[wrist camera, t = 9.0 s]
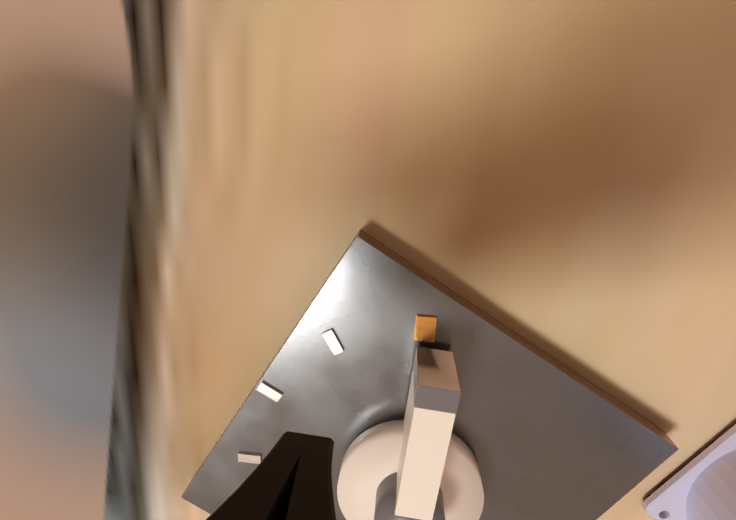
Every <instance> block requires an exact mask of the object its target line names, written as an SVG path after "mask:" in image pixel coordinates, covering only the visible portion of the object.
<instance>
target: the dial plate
mask: <svg viewBox="0 0 736 520" xmlns="http://www.w3.org/2000/svg"><path fill="white" fill-rule="evenodd" d="M417 346H418V347H424V348H431V349H437V350H444V351H450V352H453V354H454V359H455V364H456V369H457V374H458V379H459V383H460V388H461V396H460V400H459V405H458V409H457V414H456V415H455V420H454V424H453V429H452V433H453V434H455V435H456V436H457V437H459V438H460V439H461V440H462V441H463V442H464V443H465V444H466V445H467V446H468V447H469V449H470V450H471V452H472V453H473V455H474V457H475V459H476V461H477V464H478V467H479V472H480V476H481V481H482V486H483V492H484V505H483V511H482V513H481V516H480V518H479V520H596V519H598V518H599V517H600V516H601V515H602V514H603V513H605V512H606V511H607V510H608V509H609V508H610V507H612V506H613V505H614V504H615V503H616V502H617V501H619V500H620V499H621V498H622V497H623V496H624V495H625V494H627V493H628V492H629V491H630V490H631V489H632V488H634V487H635V486H636V485H637V484H638V483H639V482H641V481H642V480H643V479H644V478H645V477H646V476H648V475H649V474H650V473H651V472H652V471H653V470H655V469H656V468H657V467H658V466H659V465H660V464H662V463H663V462H664V461H665V460H666V459H667V458H669V457H670V456H671V455H672V454H673V453H674V452H676V451H677V450H678V448H677V446H676V445H675V444H674V443H673V442H672V440H671V439H670V438H669V437H668V436H667V435H666V433H665V432H664V431H662V430H661V429H659V428H658V427H656V426H655V425H653V424H652V423H650V422H649V421H647V420H646V419H644V418H643V417H641V416H640V415H638V414H637V413H635V412H634V411H632V410H631V409H629V408H628V407H626V406H625V405H623V404H622V403H620V402H619V401H617V400H616V399H614V398H613V397H611V396H610V395H608V394H607V393H605V392H604V391H602V390H601V389H599V388H598V387H596V386H595V385H593V384H592V383H590V382H589V381H587V380H586V379H584V378H583V377H581V376H580V375H578V374H577V373H575V372H574V371H572V370H571V369H569V368H567V367H566V366H564V365H563V364H561V363H560V362H558V361H557V360H555V359H554V358H552V357H551V356H549V355H548V354H546V353H545V352H543V351H542V350H540V349H539V348H537V347H536V346H534V345H533V344H531V343H530V342H528V341H527V340H525V339H524V338H522V337H521V336H519V335H518V334H516V333H515V332H513V331H512V330H510V329H509V328H507V327H506V326H504V325H503V324H501V323H500V322H498V321H497V320H495V319H494V318H492V317H491V316H489V315H488V314H486V313H485V312H483V311H482V310H480V309H479V308H477V307H476V306H474V305H473V304H471V303H470V302H468V301H467V300H465V299H464V298H462V297H461V296H459V295H458V294H456V293H454V292H453V291H451V290H450V289H448V288H447V287H445V286H444V285H442V284H441V283H439V282H438V281H436V280H435V279H433V278H432V277H430V276H429V275H427V274H426V273H424V272H423V271H421V270H420V269H418V268H417V267H415V266H414V265H412V264H411V263H409V262H408V261H406V260H405V259H403V258H402V257H400V256H399V255H397V254H396V253H394V252H393V251H391V250H390V249H388V248H387V247H385V246H384V245H382V244H381V243H379V242H378V241H376V240H375V239H373V238H372V237H370V236H369V235H367V234H366V233H364V232H363V231H361V230H360V231H359V233H358V234H357V236H356V237H355V239H354V240H353V242H352V243H351V244H350V246H349V247H348V249H347V250H346V252H345V253H344V255H343V256H342V258H341V259H340V261H339V262H338V264H337V265H336V267H335V268H334V270H333V271H332V273H331V274H330V276H329V277H328V279H327V280H326V282H325V283H324V285H323V286H322V287H321V289H320V290H319V292H318V293H317V295H316V296H315V298H314V299H313V301H312V302H311V304H310V305H309V307H308V308H307V310H306V311H305V313H304V314H303V316H302V317H301V319H300V320H299V322H298V323H297V325H296V326H295V328H294V329H293V330H292V332H291V333H290V335H289V336H288V338H287V339H286V341H285V342H284V344H283V345H282V347H281V348H280V350H279V351H278V353H277V354H276V356H275V357H274V359H273V360H272V362H271V363H270V365H269V366H268V368H267V369H266V371H265V372H264V373H263V375H262V376H261V378H260V379H259V381H258V382H257V384H256V385H255V387H254V388H253V390H252V391H251V393H250V394H249V396H248V397H247V399H246V400H245V402H244V403H243V405H242V406H241V408H240V409H239V411H238V412H237V413H236V415H235V416H234V418H233V419H232V421H231V422H230V424H229V425H228V427H227V428H226V430H225V431H224V433H223V434H222V436H221V437H220V439H219V440H218V442H217V443H216V445H215V446H214V448H213V449H212V451H211V452H210V454H209V455H208V456H207V458H206V459H205V461H204V462H203V464H202V465H201V467H200V468H199V470H198V471H197V473H196V474H195V476H194V477H193V479H192V480H191V482H190V483H189V485H188V487H187V488H186V490H185V492H184V493H183V495H182V498H184V499H185V500H187V501H189V502H191V503H192V504H194V505H196V506H198V507H199V508H201V509H203V510H205V511H206V512H208V513H210V514H213V513H214V512H215V511H216V510H217V509H218V508H219V507H220V506H221V505H222V504H223V503H224V502H225V501H226V500H227V499H228V498H229V497H230V496H231V495H232V494H233V493H234V492H235V491H236V490H237V489H238V488H239V487H240V485H241V484H242V483H243V482H244V481H245V480H246V479H247V478H248V477H249V475H250V474H251V473H252V472H253V471H254V470H255V469H256V468H257V467H258V465H259V464H260V463H261V462H262V461H263V459H264V458H265V457H266V456H267V455H268V453H269V452H270V451H271V450H272V448H273V447H274V446H275V444H276V443H277V442H278V441H279V439H280V438H281V436H282V435H283V434H284V433H285V432H287V431H290V432H296V433H303V434H309V435H316V436H322V437H329V438H331V439H332V440H333V441H334V449H333V458H332V468H331V469H332V489H333V498H334V507H335V514H336V520H346V519H345V517H344V515H343V513H342V511H341V509H340V506H339V503H338V497H337V485H338V479H339V474H340V469H341V464H342V460H343V457H344V454H345V452H346V450H347V449H348V447H349V446H350V444H351V443H352V442H353V441H354V440H355V439H356V438H357V437H358V436H359V435H360V434H362V433H363V432H364V431H366V430H368V429H369V428H371V427H373V426H376V425H378V424H381V423H384V422H389V421H394V420H404V417H405V411H406V405H407V400H408V394H409V389H410V383H411V377H412V372H413V363H414V358H415V352H416V347H417Z"/></svg>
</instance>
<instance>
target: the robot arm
mask: <svg viewBox="0 0 736 520" xmlns="http://www.w3.org/2000/svg"><path fill="white" fill-rule="evenodd" d="M333 449H334V441H333V440H332V439H331V438H329V437H322V436H316V435H309V434H303V433H296V432H290V431H287V432H285V433H284V434H283V435H282V436H281V438H280V439H279V441H278V442H277V443H276V444H275V446H274V447H273V448H272V450H271V451H270V452H269V453H268V455H267V456H266V457H265V458H264V459H263V461H262V462H261V463H260V464H259V465H258V467H257V468H256V469H255V470H254V471H253V472H252V473H251V474H250V475H249V477H248V478H247V479H246V480H245V481H244V482H243V483H242V484H241V485H240V487H239V488H238V489H237V490H236V491H235V492H234V493H233V494H232V495H231V496H230V497H229V498H228V499H227V500H226V501H225V502H224V503H223V504H222V505H221V506H220V507H219V508H218V509H217V510H216V511H215V512H214V513H213V514H212V515H211V516H209V517H208V518H207V519H206V520H336V514H335V507H334V498H333V489H332V469H331V468H332V458H333ZM643 508H644V509H645V511H646V513H647V514H648V515H649V516H651V517H653V518H654V519H656V520H736V424H735V425H734V426H733V427H731V428H730V429H729V430H728V431H727V432H725V433H724V434H723V435H722V436H721V437H719V438H718V439H717V440H716V441H715V442H713V443H712V444H711V445H710V446H709V447H707V448H706V449H705V450H704V451H703V452H701V453H700V454H699V455H698V456H697V457H696V458H694V459H693V460H692V461H691V462H690V463H688V464H687V465H686V466H685V467H684V468H682V469H681V470H680V471H679V472H678V473H676V474H675V475H674V476H673V477H672V478H670V479H669V480H668V481H667V482H666V483H664V484H663V485H662V486H661V487H660V488H658V489H657V490H656V491H655V492H654V493H653V494H651V495H650V496H649V497H648V498H647V499H645V501H644V502H643Z"/></svg>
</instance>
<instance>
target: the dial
mask: <svg viewBox="0 0 736 520" xmlns="http://www.w3.org/2000/svg"><path fill="white" fill-rule="evenodd" d="M460 396H461V388H460V383H459V379H458V374H457V369H456V364H455V359H454V354H453V352H450V351H444V350H437V349H431V348H424V347H418V346H417V347H416V352H415V358H414V363H413V372H412V377H411V383H410V389H409V394H408V400H407V405H406V411H405V417H404V420H394V421H389V422H384V423H381V424H378V425H376V426H373V427H371V428H369V429H368V430H366V431H364V432H363V433H362V434H360V435H359V436H358V437H357V438H356V439H355V440H354V441H353V442H352V443H351V444H350V446H349V447H348V449H347V450H346V452H345V454H344V457H343V460H342V464H341V469H340V474H339V479H338V485H337V497H338V503H339V506H340V509H341V511H342V513H343V515H344V517H345V519H346V520H479V518H480V516H481V513H482V511H483V505H484V492H483V486H482V481H481V476H480V472H479V467H478V464H477V461H476V459H475V457H474V455H473V453H472V452H471V450H470V449H469V447H468V446H467V445H466V444H465V443H464V442H463V441H462V440H461V439H460V438H459V437H457V436H456V435H455V434H453V433H452V429H453V424H454V420H455V415H456V414H457V409H458V405H459V400H460Z"/></svg>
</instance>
